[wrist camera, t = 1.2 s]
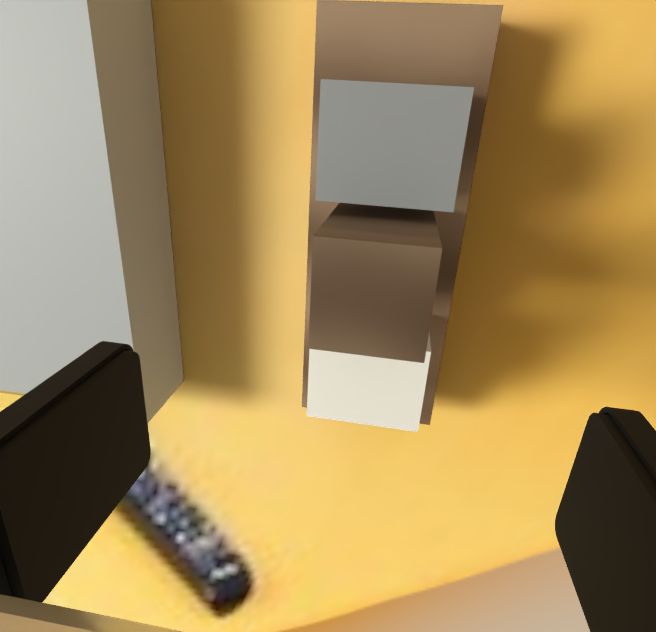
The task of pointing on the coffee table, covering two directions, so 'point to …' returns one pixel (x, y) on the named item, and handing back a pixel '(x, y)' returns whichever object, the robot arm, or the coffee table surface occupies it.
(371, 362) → the block
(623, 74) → the coffee table surface
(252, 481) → the coffee table surface
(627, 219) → the coffee table surface
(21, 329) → the dock
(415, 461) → the coffee table surface
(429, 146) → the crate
